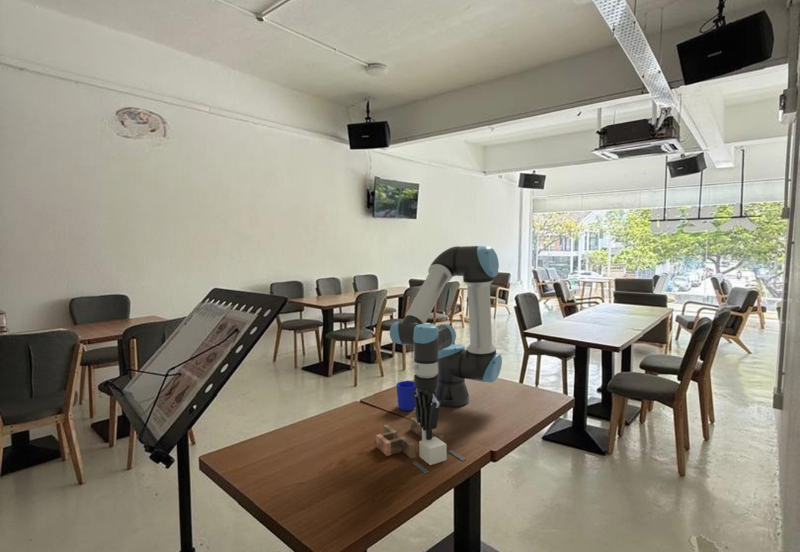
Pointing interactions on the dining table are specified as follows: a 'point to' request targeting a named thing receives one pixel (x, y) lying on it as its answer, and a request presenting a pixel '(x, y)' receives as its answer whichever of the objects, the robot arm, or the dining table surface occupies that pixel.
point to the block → (433, 450)
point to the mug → (406, 395)
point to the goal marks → (428, 471)
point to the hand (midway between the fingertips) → (426, 447)
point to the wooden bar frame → (400, 440)
